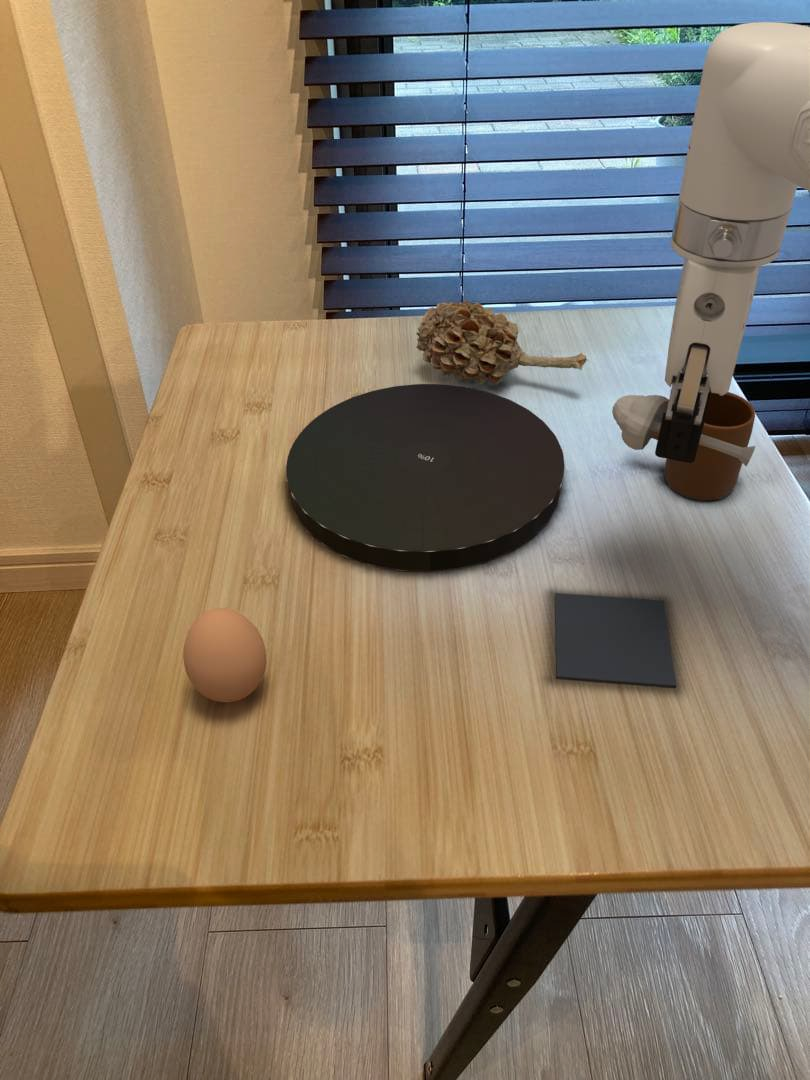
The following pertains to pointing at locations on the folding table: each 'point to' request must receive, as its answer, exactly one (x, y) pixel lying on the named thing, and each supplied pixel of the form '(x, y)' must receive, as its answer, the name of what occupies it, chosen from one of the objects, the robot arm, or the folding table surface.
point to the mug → (712, 467)
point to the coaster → (613, 640)
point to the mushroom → (645, 418)
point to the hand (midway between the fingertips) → (680, 434)
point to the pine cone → (477, 344)
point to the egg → (224, 655)
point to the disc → (425, 477)
